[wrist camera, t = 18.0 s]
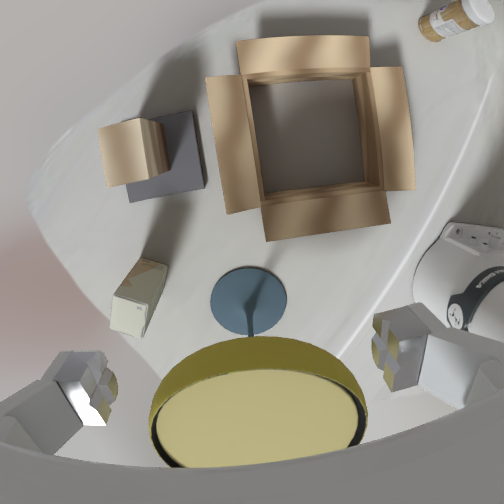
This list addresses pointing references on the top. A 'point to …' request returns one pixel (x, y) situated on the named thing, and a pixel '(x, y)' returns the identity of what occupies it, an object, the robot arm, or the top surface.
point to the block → (133, 151)
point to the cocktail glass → (254, 389)
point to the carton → (370, 125)
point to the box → (137, 298)
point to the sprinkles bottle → (456, 19)
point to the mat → (174, 161)
